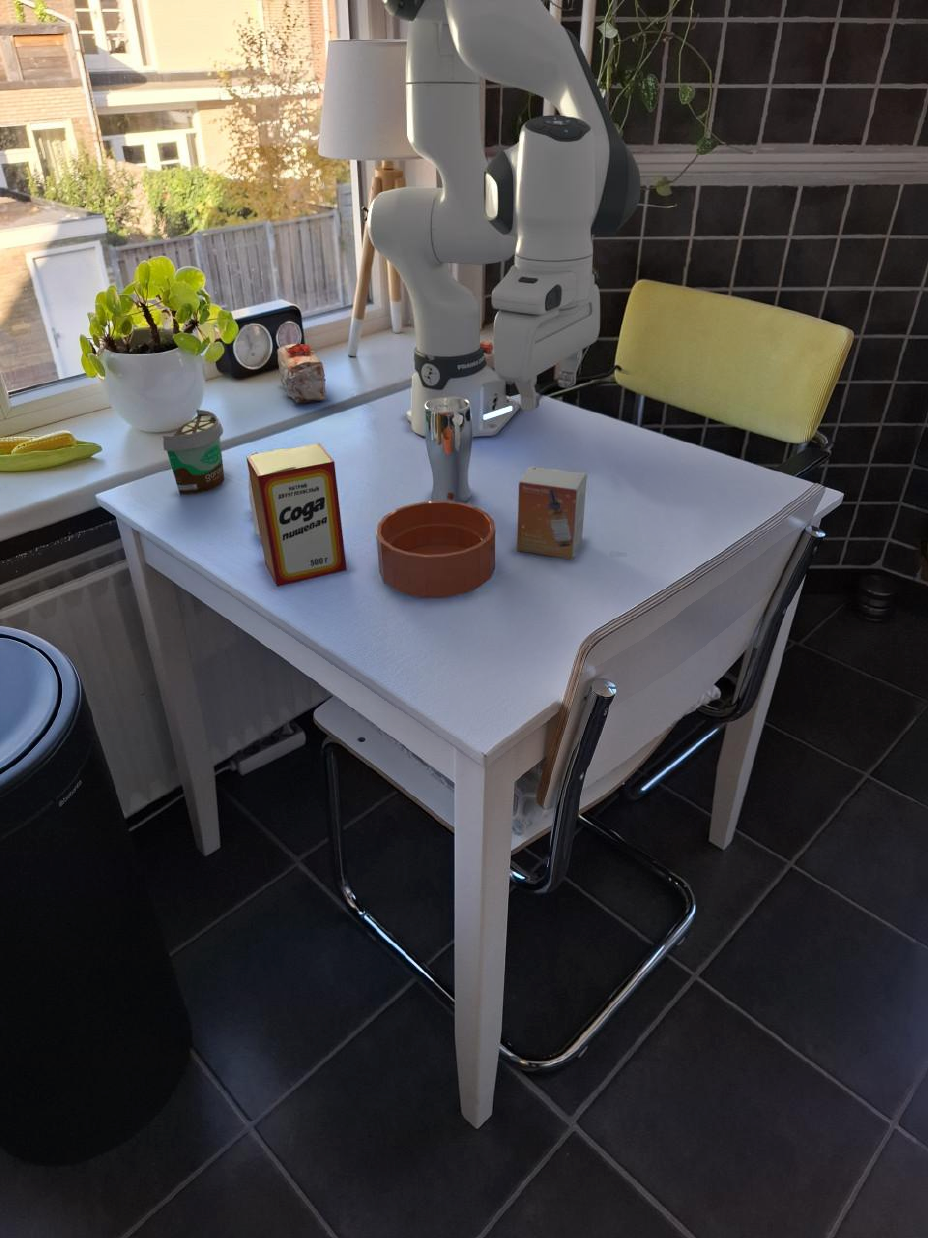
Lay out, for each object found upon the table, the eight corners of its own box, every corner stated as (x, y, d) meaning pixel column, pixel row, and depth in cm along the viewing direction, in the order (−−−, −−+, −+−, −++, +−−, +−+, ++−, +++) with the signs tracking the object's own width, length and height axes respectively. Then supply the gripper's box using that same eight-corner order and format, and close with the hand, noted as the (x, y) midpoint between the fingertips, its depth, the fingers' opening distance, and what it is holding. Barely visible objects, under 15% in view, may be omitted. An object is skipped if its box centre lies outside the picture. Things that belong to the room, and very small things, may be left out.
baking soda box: (332, 548, 121) (319, 440, 112) (346, 570, 116) (333, 458, 107) (265, 564, 118) (245, 453, 109) (277, 586, 113) (257, 473, 104)
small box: (516, 552, 119) (517, 481, 113) (527, 533, 123) (529, 464, 117) (573, 561, 117) (577, 489, 111) (583, 541, 121) (587, 471, 115)
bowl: (403, 537, 123) (400, 495, 120) (507, 550, 119) (507, 507, 116) (362, 592, 111) (358, 548, 108) (476, 609, 107) (475, 563, 104)
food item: (332, 401, 169) (326, 351, 164) (292, 408, 167) (285, 357, 161) (313, 381, 180) (307, 333, 174) (275, 387, 177) (268, 338, 172)
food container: (211, 501, 134) (199, 439, 129) (175, 498, 135) (161, 437, 130) (244, 468, 144) (233, 410, 139) (209, 465, 145) (198, 408, 140)
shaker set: (287, 545, 122) (275, 472, 116) (257, 549, 121) (243, 476, 115) (280, 508, 132) (270, 439, 125) (252, 511, 131) (240, 442, 125)
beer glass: (479, 491, 135) (478, 397, 126) (465, 511, 129) (462, 414, 121) (437, 486, 137) (433, 393, 128) (421, 505, 131) (416, 409, 123)
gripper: (570, 260, 108) (565, 369, 116) (482, 295, 94) (484, 418, 102) (616, 265, 106) (608, 377, 113) (533, 302, 91) (530, 428, 99)
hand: (548, 397), depth 108 cm, fingers open, 8 cm apart
